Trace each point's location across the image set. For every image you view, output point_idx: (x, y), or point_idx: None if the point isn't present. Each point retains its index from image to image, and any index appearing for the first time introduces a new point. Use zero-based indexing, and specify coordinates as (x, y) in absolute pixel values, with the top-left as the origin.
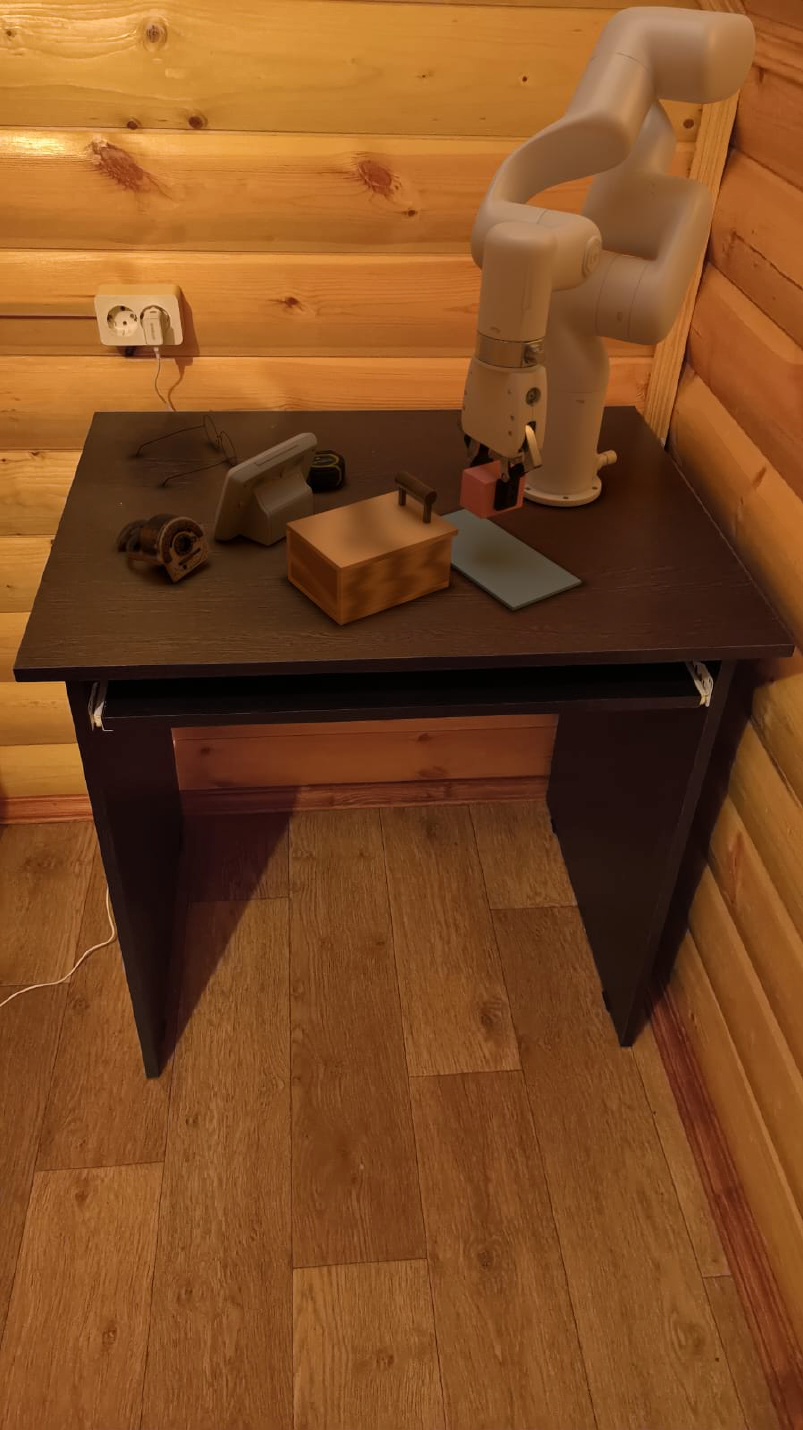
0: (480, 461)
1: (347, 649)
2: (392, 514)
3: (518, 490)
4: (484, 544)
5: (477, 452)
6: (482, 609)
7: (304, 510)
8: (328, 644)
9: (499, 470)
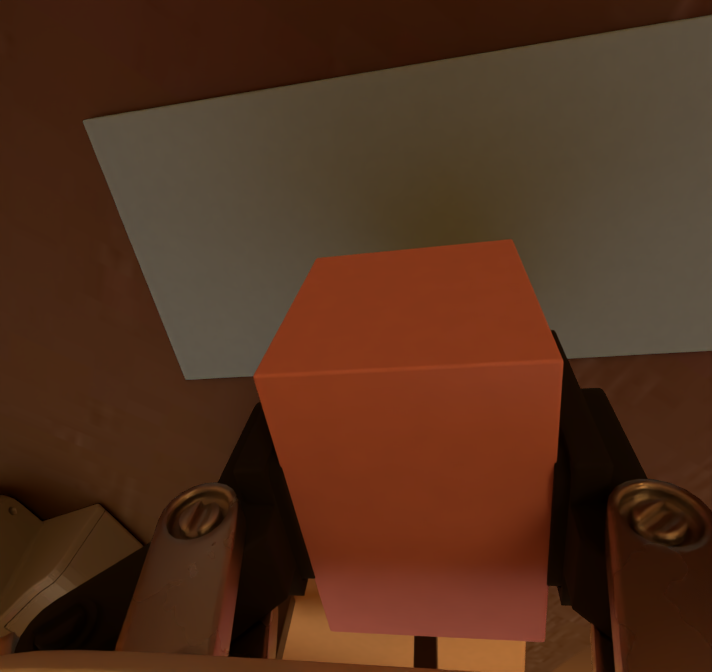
0: (291, 563)
1: (572, 635)
2: (336, 634)
3: (574, 378)
4: (355, 222)
5: (271, 652)
6: (646, 402)
7: (100, 554)
8: (538, 645)
9: (431, 507)
